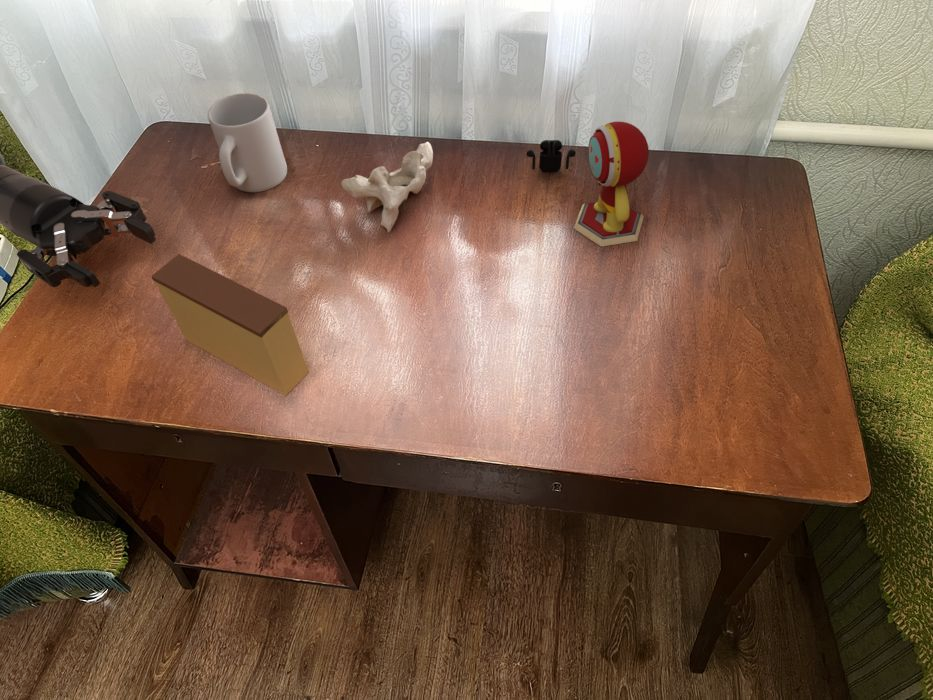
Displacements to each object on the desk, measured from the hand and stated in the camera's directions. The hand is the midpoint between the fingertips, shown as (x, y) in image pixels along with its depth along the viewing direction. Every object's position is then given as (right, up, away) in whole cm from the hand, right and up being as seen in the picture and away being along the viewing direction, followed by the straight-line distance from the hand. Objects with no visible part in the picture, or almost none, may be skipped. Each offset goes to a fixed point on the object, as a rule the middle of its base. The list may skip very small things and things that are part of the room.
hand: (124, 257), depth 82 cm
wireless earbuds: (+53, +16, +21) cm, 59 cm away
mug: (+9, +14, +21) cm, 27 cm away
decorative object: (+30, +10, +17) cm, 36 cm away
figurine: (+60, +6, +13) cm, 62 cm away
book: (+14, -12, 0) cm, 19 cm away
